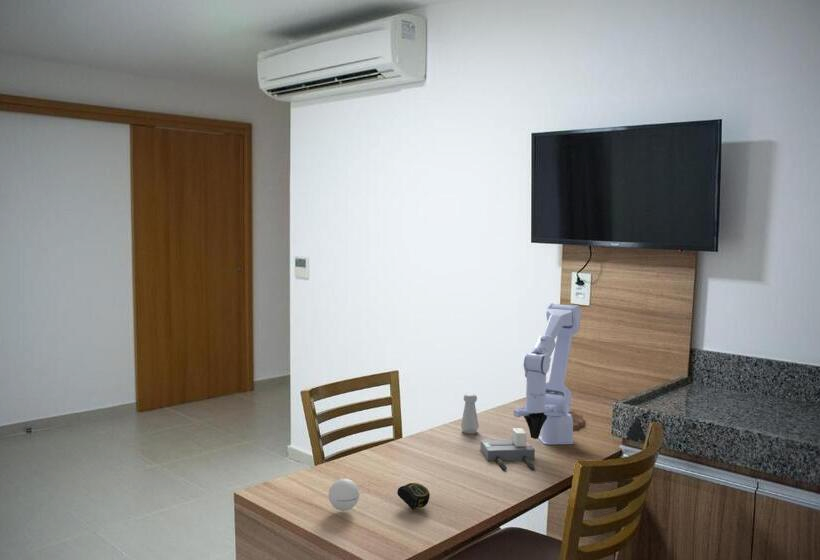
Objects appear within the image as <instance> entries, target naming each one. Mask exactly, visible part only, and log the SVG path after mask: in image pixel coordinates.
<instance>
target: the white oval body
mask: <svg viewBox="0 0 820 560" xmlns="http://www.w3.org/2000/svg"><path fill="white" fill-rule="evenodd" d="M367 492H368V493H369V492H371V491H370V490H369V491H368V490H367ZM364 493H365V491H363V492H361V494H364ZM359 497H360V490H359V487H358V485H357V484H356V483H355V482H354V480H352V479H349V478H340V479H337V480H336V481H334V482H333V483H332V484H331V485H330V488H329V490H328V500H329V503H330V504H331V506H332V507H333V508H334V509H336V510H338V511H340V512H341V511H342V512H344V511H345V512H346V511H349V510H351V509H353V508H355V506H356V505H357V503H358V502H359V500H360V498H359Z"/></svg>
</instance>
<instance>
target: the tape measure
mask: <svg viewBox="0 0 820 560" xmlns="http://www.w3.org/2000/svg"><path fill="white" fill-rule="evenodd" d="M430 495H431V494H430V491H429V489H428V488H427V486H425V485H423V484H420V483H418V482H411V483H410V482H409V483H407V484H405V485H402V486H400V487H399V488H398V489H397V496H398V497H399V498H400V499H401V500H402V501H403V502H404V503H405V504H406V505H408V507H409V508H410V509H411V510H416V509H421V508H424V507H426V505H427V504H428V503H429V501H430Z"/></svg>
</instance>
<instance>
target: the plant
mask: <svg viewBox="0 0 820 560" xmlns="http://www.w3.org/2000/svg"><path fill="white" fill-rule="evenodd" d="M557 394H560V393H557ZM568 414H571V416H572V419H573V431H578V430H579V428H583V427H584V426H585V425H584V424H585V423H584V422H585V421H584V416H583V414H579V413H576V412H574V411H573V410H572V411H571V410H570V412H569V413H568Z"/></svg>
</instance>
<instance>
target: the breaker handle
mask: <svg viewBox="0 0 820 560" xmlns="http://www.w3.org/2000/svg"><path fill="white" fill-rule="evenodd" d="M511 439H512V442H513V443H514V445H515V446H516V447H519V446H526V440H527V432H526V430H524V429H523V428H522V427H520V428H519V427H515V428H514V427H512V428H511Z"/></svg>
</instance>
